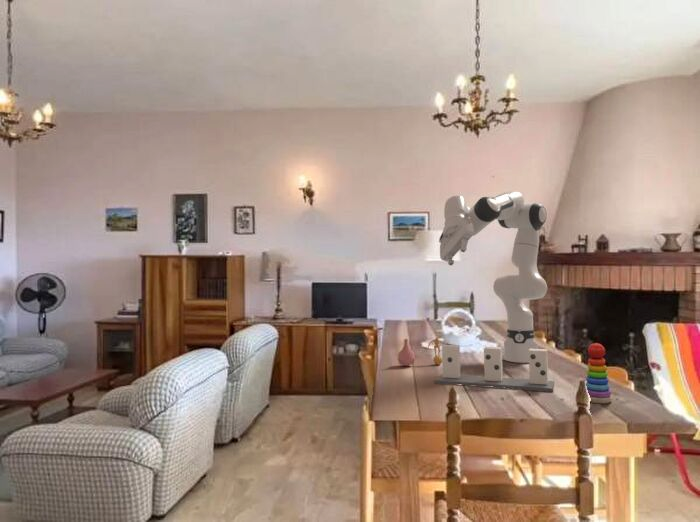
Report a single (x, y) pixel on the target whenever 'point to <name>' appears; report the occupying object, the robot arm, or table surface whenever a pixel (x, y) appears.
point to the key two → (493, 363)
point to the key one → (451, 361)
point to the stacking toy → (597, 375)
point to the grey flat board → (496, 382)
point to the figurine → (438, 359)
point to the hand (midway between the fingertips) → (457, 257)
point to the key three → (538, 366)
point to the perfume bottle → (406, 355)
